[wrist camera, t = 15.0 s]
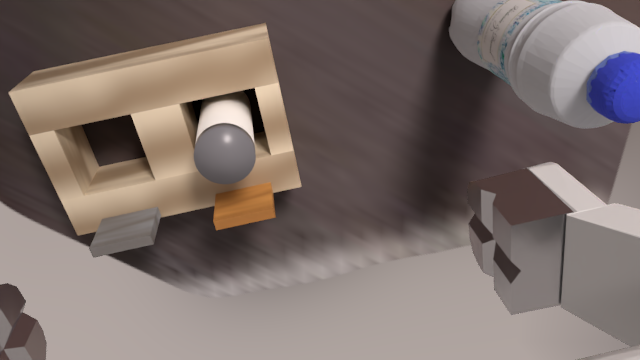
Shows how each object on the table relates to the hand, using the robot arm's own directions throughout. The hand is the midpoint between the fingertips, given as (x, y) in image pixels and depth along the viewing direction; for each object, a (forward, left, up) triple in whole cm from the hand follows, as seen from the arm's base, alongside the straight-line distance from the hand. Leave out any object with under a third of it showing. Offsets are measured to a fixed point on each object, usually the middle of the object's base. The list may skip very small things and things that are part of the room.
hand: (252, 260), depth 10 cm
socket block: (+9, -8, -34) cm, 36 cm away
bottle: (+6, +18, -34) cm, 39 cm away
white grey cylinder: (+9, -4, -34) cm, 35 cm away
